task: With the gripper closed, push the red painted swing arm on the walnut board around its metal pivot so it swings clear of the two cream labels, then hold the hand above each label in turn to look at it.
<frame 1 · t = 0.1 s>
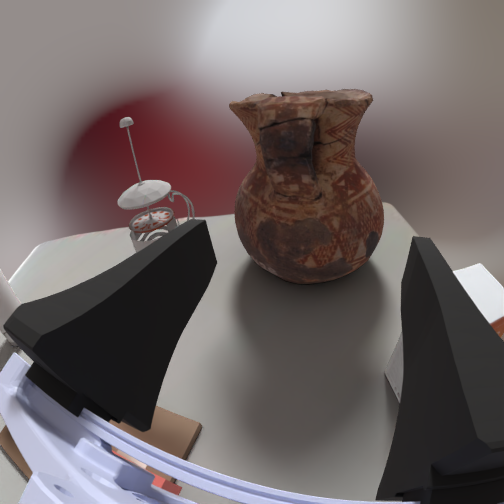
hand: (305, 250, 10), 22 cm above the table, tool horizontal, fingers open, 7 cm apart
small box: (424, 383, 25), on the table
label board: (80, 444, 22), on the table
travel mug: (23, 334, 36), on the table
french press: (172, 268, 47), on the table
swing arm: (64, 433, 20), point 4 cm above the table, hinge at 0.0°
jug: (309, 257, 46), on the table
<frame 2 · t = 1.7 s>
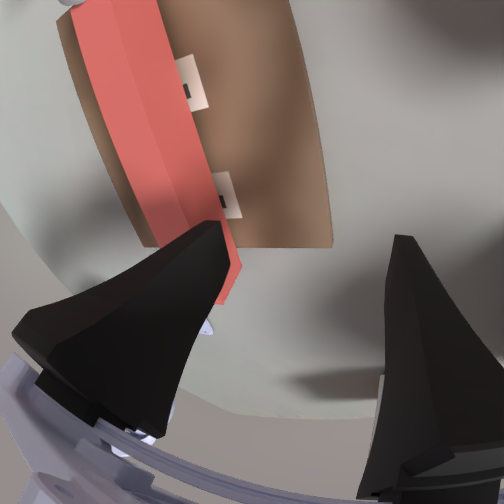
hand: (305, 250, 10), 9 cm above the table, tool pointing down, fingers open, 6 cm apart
label board: (180, 101, 17), on the table
swing arm: (149, 126, 15), point 4 cm above the table, hinge at 0.0°
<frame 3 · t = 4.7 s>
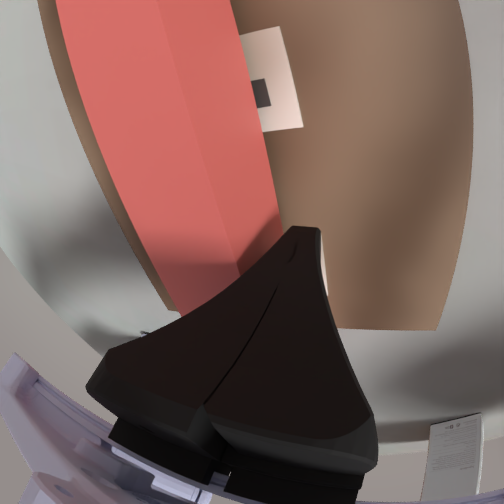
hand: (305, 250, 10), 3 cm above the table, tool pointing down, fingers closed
small box: (459, 425, 23), on the table
label board: (240, 109, 10), on the table
swing arm: (191, 160, 8), point 4 cm above the table, hinge at 1.6°, touching gripper
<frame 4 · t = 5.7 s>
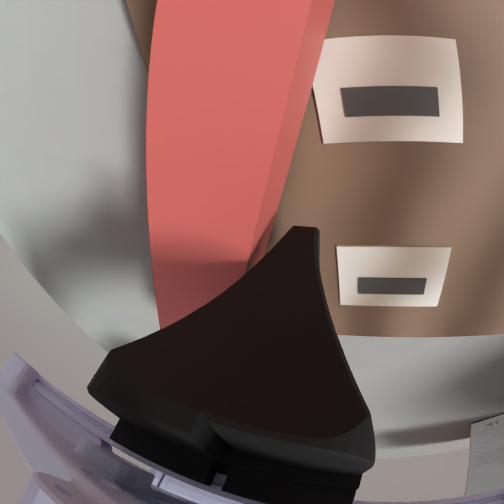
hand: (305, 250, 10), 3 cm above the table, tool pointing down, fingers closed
small box: (494, 423, 21), on the table
label board: (390, 111, 9), on the table
swing arm: (230, 140, 7), point 4 cm above the table, hinge at 25.4°, touching gripper
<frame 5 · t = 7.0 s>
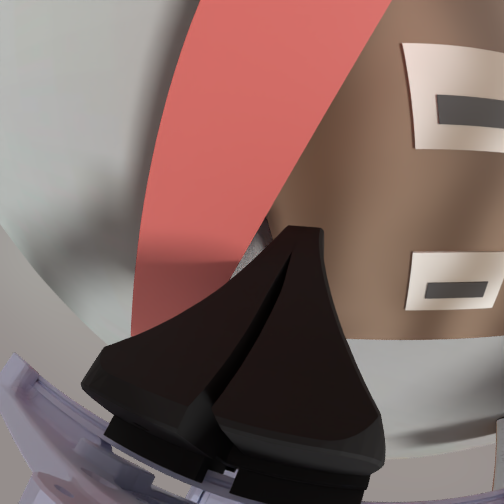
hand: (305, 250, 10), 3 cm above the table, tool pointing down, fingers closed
label board: (469, 120, 7), on the table
swing arm: (258, 101, 6), point 4 cm above the table, hinge at 38.6°, touching gripper
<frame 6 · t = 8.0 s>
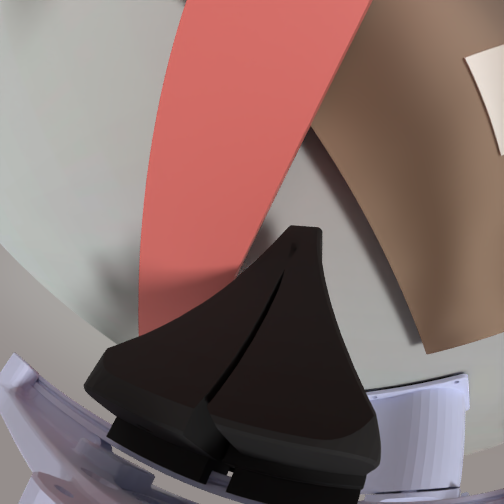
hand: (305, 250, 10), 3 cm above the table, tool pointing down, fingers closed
swing arm: (246, 116, 7), point 4 cm above the table, hinge at 57.9°, touching gripper
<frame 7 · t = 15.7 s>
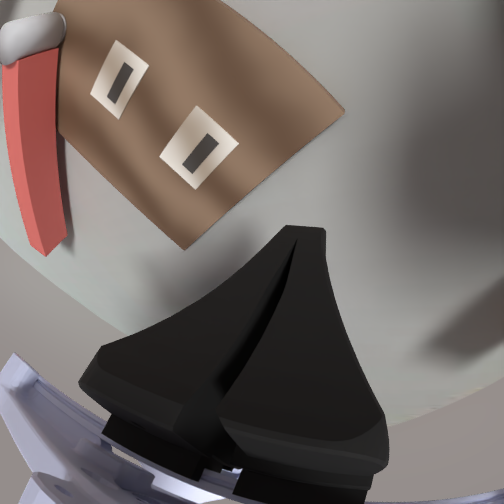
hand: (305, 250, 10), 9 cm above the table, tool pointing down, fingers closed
label board: (134, 84, 17), on the table
swing arm: (29, 149, 19), point 4 cm above the table, hinge at 67.4°
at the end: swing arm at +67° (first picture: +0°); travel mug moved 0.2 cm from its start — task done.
